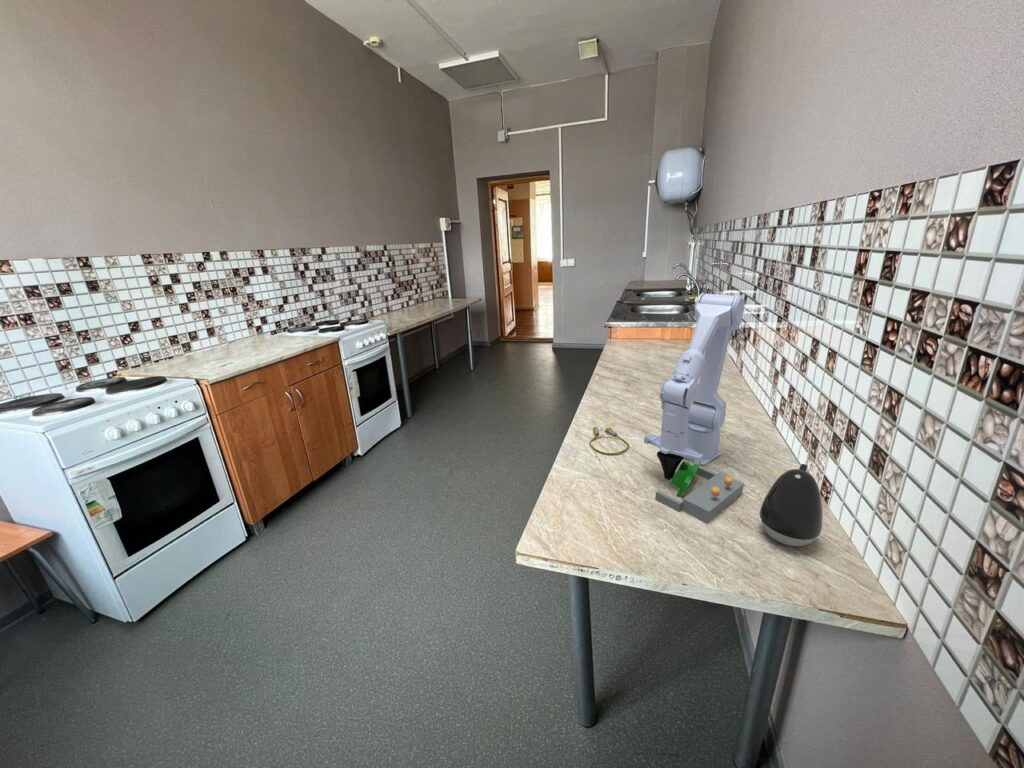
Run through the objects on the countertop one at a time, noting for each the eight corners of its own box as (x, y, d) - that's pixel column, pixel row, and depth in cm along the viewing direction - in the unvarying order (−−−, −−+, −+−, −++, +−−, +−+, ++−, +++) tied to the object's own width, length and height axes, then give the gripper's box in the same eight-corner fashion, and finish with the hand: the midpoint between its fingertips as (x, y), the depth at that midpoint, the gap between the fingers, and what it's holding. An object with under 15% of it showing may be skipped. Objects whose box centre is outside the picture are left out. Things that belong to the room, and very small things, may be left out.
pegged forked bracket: (695, 471, 105) (698, 452, 103) (744, 492, 96) (748, 471, 94) (655, 499, 95) (657, 478, 93) (705, 525, 86) (708, 502, 84)
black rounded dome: (820, 533, 82) (837, 468, 77) (812, 563, 75) (831, 493, 70) (763, 513, 89) (775, 451, 84) (750, 538, 81) (764, 473, 76)
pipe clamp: (679, 468, 105) (686, 455, 103) (693, 476, 103) (701, 463, 101) (665, 488, 97) (673, 474, 94) (680, 498, 95) (689, 484, 93)
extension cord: (632, 435, 126) (633, 429, 126) (625, 459, 113) (626, 453, 112) (593, 430, 131) (594, 424, 130) (582, 453, 117) (582, 446, 117)
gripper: (638, 423, 100) (634, 471, 104) (694, 444, 89) (687, 497, 93) (655, 415, 104) (650, 462, 108) (710, 434, 93) (703, 485, 97)
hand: (668, 477), depth 101 cm, fingers closed
